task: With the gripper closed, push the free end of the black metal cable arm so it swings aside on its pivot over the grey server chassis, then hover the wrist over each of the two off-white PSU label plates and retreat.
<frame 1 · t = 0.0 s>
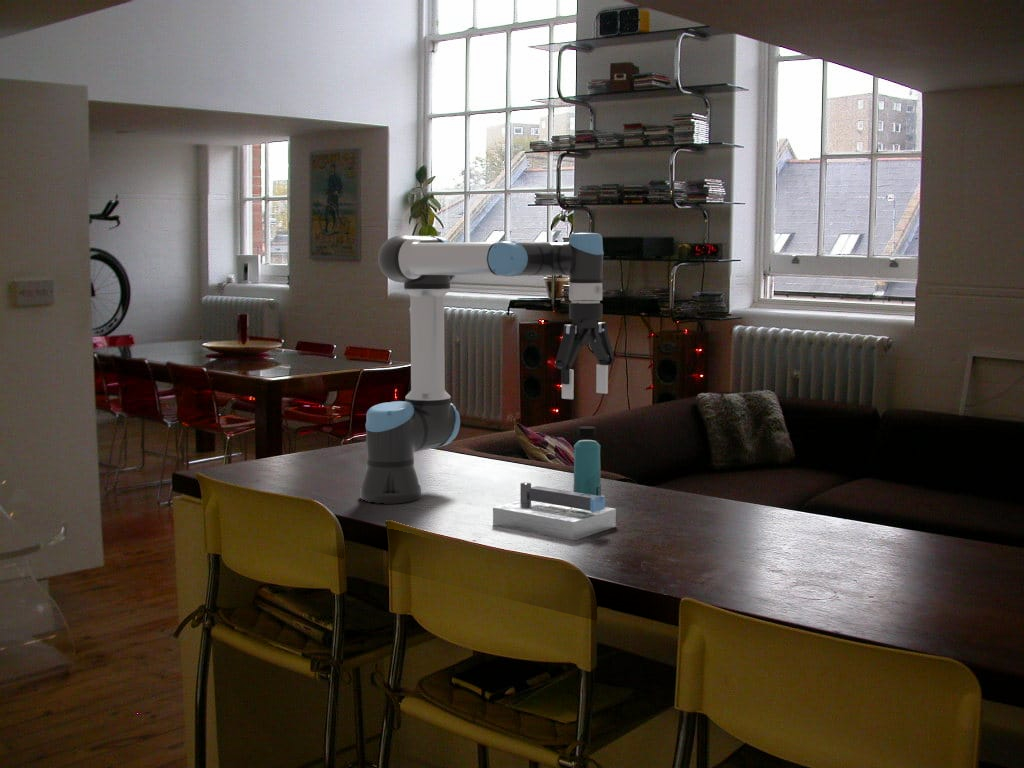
hand: (585, 396, 249), 28 cm above the breakfast bar, fingers open, 13 cm apart
chassis: (554, 525, 244), on the breakfast bar
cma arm: (565, 498, 241), point 7 cm above the breakfast bar, hinge at 0.0°
beverage bottle: (586, 511, 259), on the breakfast bar
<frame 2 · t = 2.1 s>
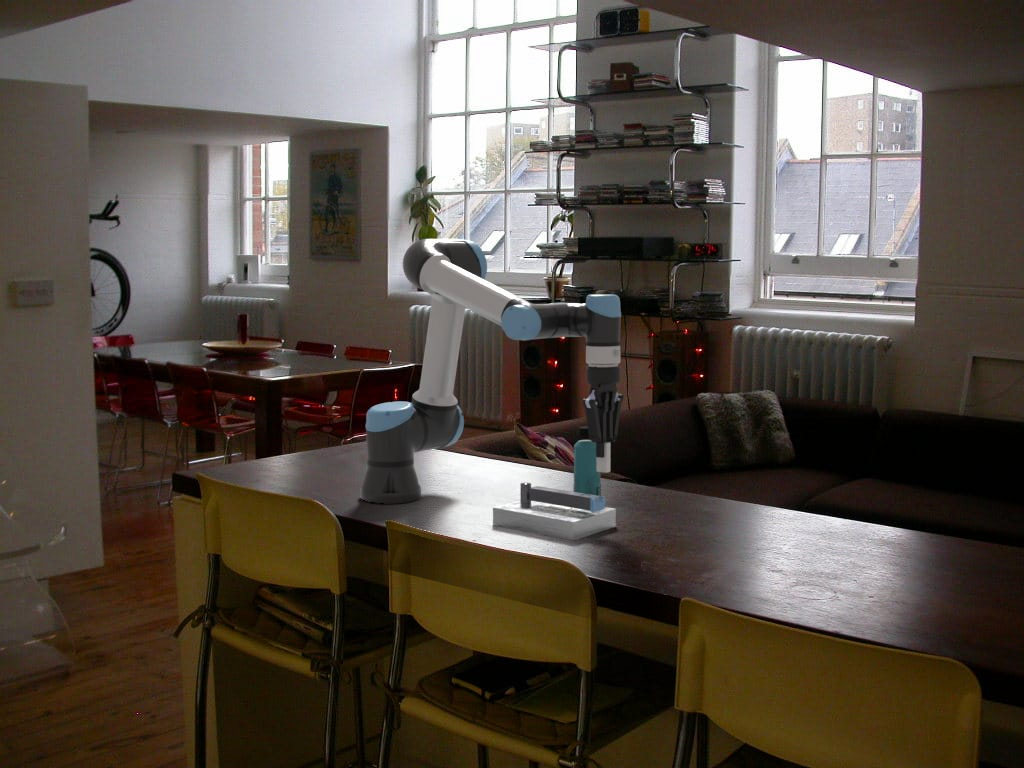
hand: (603, 471, 243), 12 cm above the breakfast bar, fingers closed
nothing on the breakfast bar moved.
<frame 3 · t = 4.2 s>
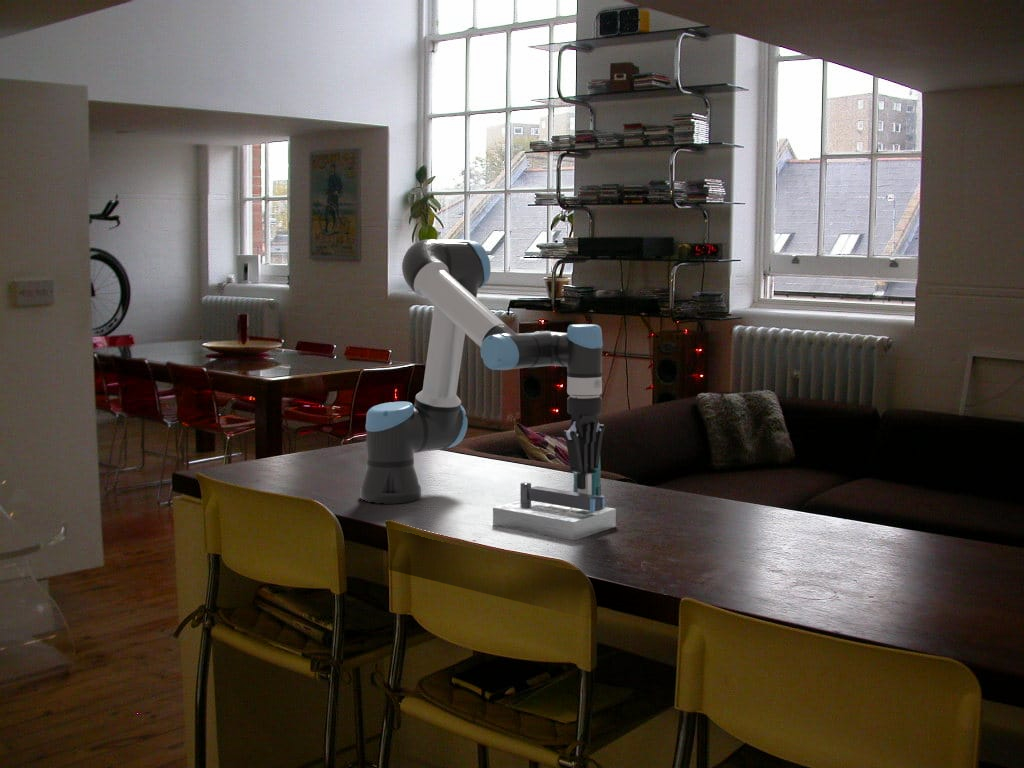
hand: (584, 502, 240), 6 cm above the breakfast bar, fingers closed
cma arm: (565, 498, 241), point 7 cm above the breakfast bar, hinge at -0.4°, touching gripper
everything else where it was.
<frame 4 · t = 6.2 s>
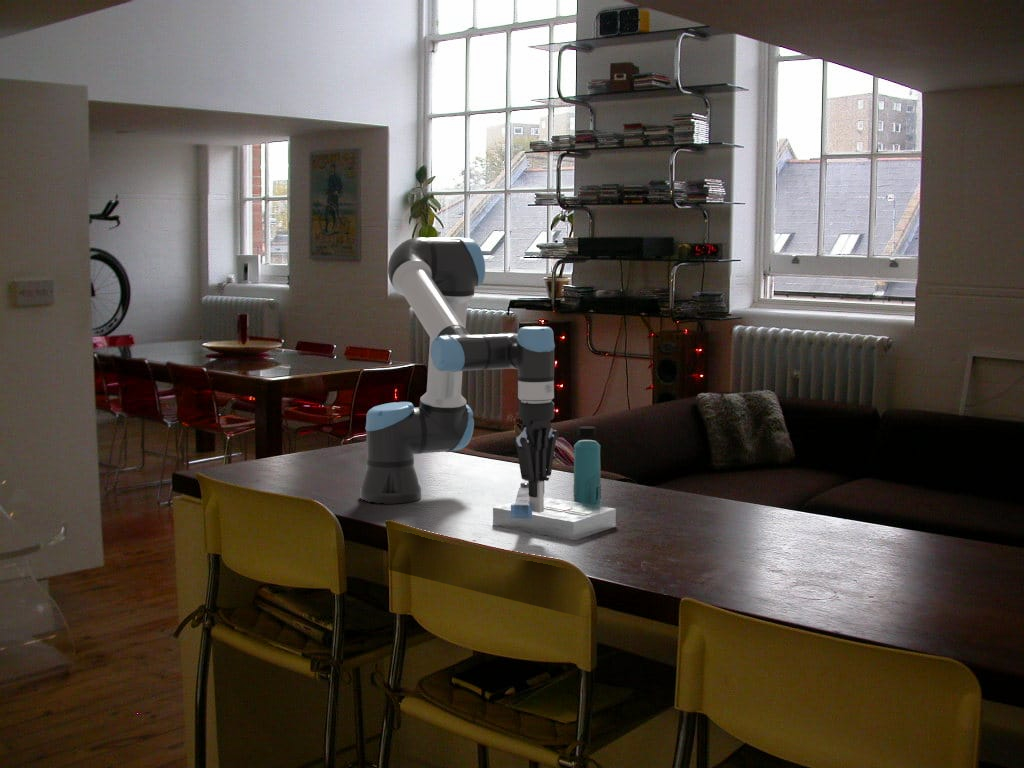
hand: (536, 511, 232), 6 cm above the breakfast bar, fingers closed
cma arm: (523, 502, 237), point 7 cm above the breakfast bar, hinge at -54.7°, touching gripper
everything else where it was.
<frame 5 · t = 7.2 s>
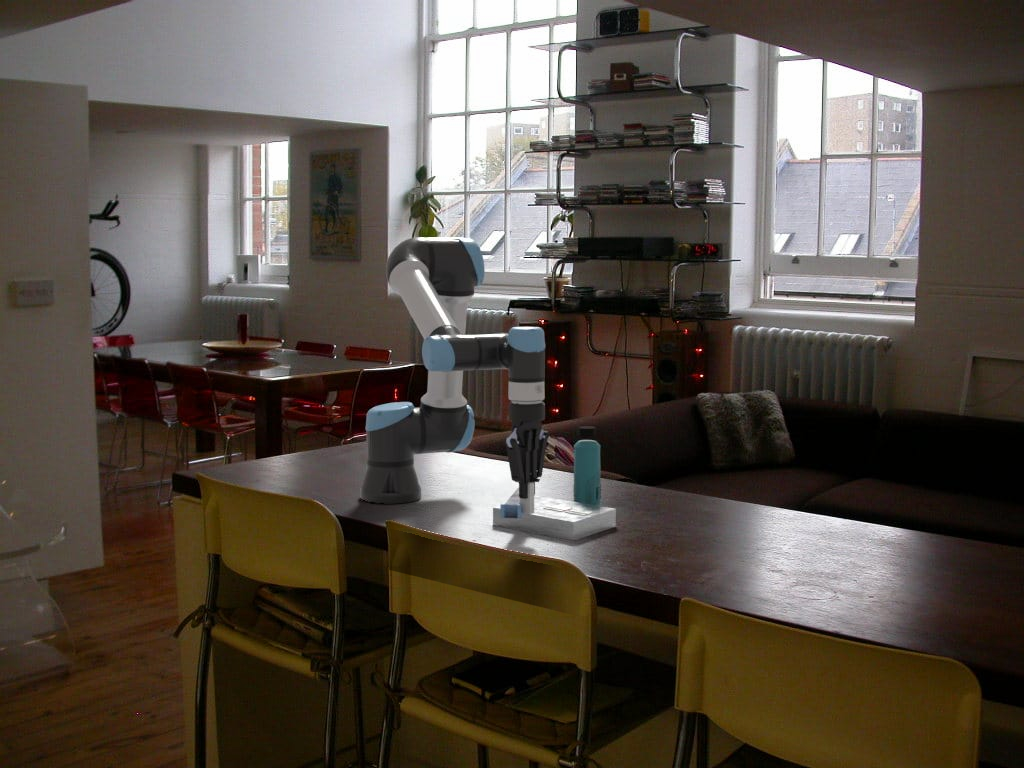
hand: (527, 512, 231), 6 cm above the breakfast bar, fingers closed
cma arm: (517, 502, 237), point 7 cm above the breakfast bar, hinge at -60.9°, touching gripper
everything else where it was.
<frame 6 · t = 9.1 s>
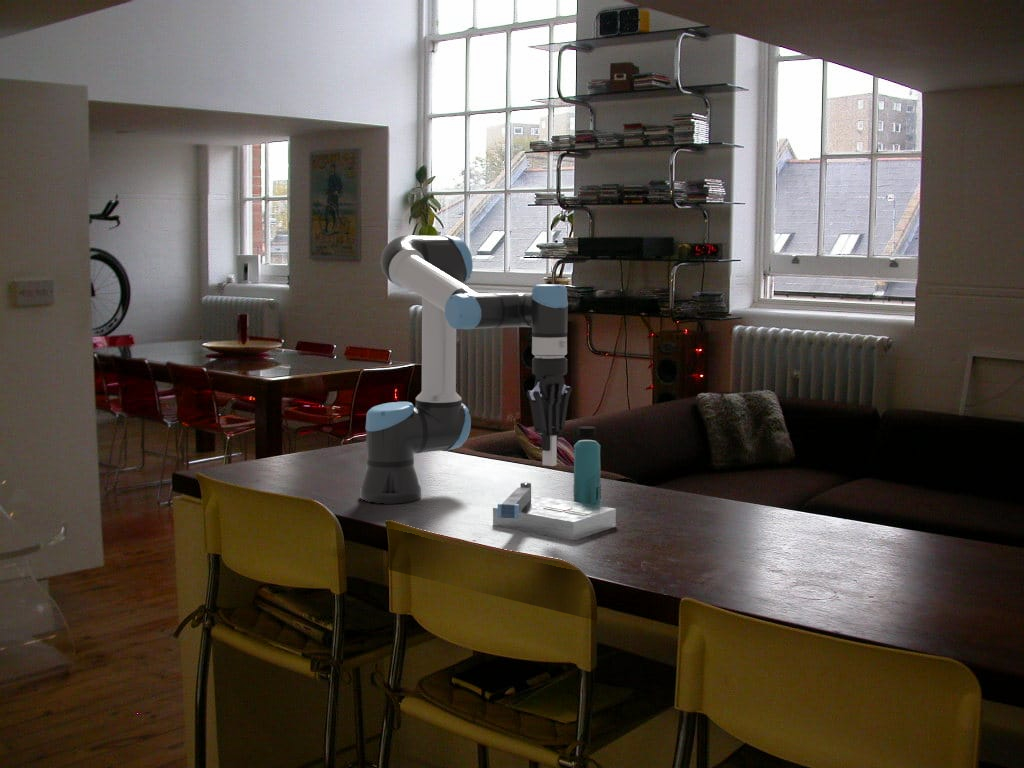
hand: (549, 464, 238), 14 cm above the breakfast bar, fingers closed
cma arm: (516, 502, 237), point 7 cm above the breakfast bar, hinge at -62.7°
everything else where it was.
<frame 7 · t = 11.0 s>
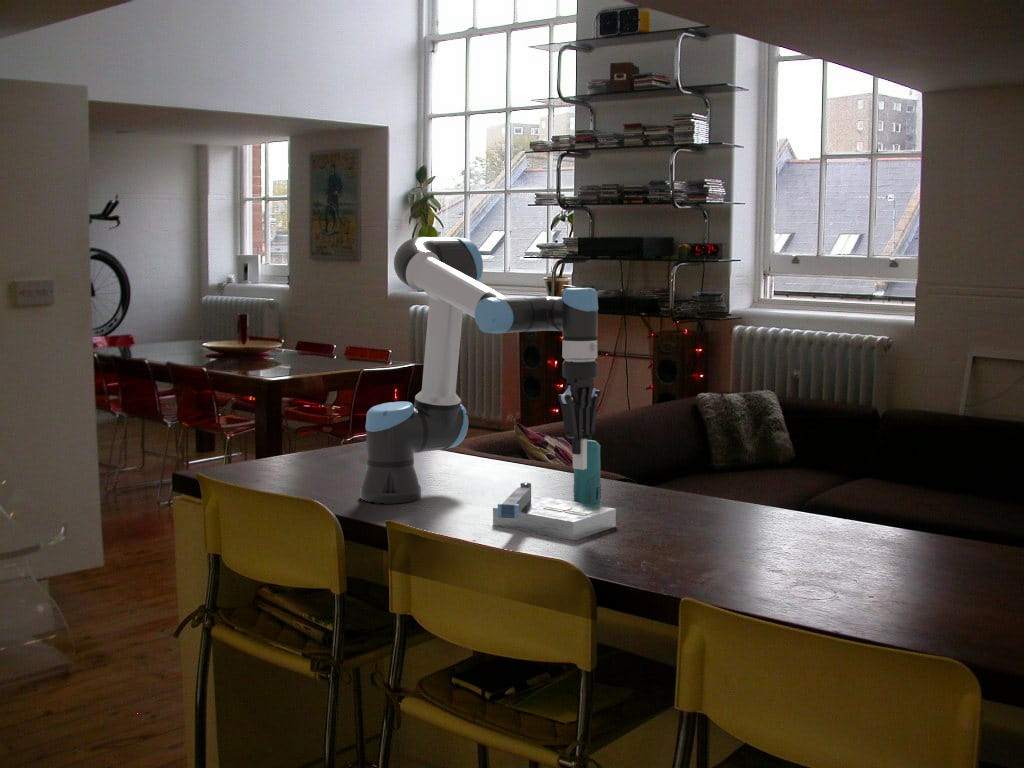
hand: (579, 468, 238), 14 cm above the breakfast bar, fingers closed
nothing on the breakfast bar moved.
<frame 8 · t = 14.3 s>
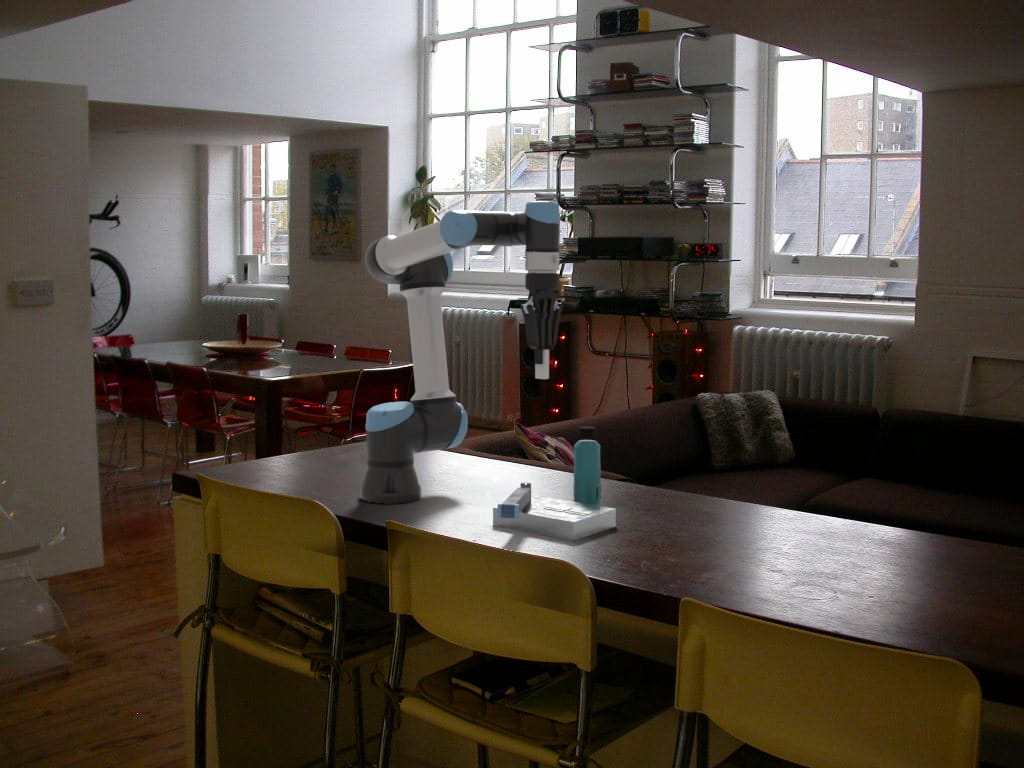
hand: (542, 378, 245), 32 cm above the breakfast bar, fingers closed
nothing on the breakfast bar moved.
at the end: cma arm at -63° (first picture: +0°) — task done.
